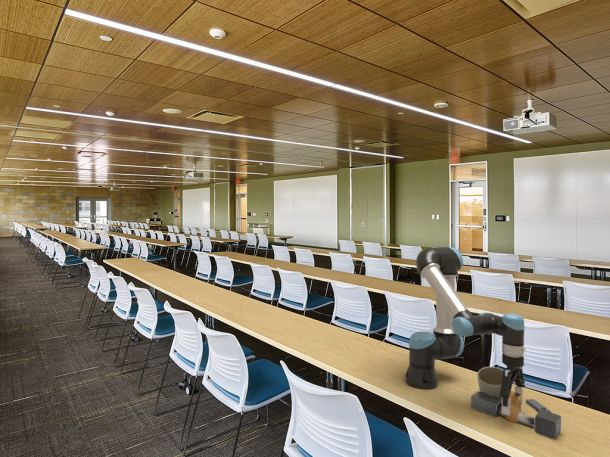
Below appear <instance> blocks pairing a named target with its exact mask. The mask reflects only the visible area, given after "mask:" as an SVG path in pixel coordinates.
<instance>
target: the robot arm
mask: <svg viewBox="0 0 610 457" xmlns="http://www.w3.org/2000/svg"><path fill="white" fill-rule="evenodd" d="M463 258H464V257H463V255H462V253H461V252H460V251H459V249H457V248H455V247H451V246H450V247H449V246H443V247H442V246H441V247H438V246H436V247H426V248H423V249H422V250H420V251H419V252H418V253H417V256H416V260H415V266H416V270H417V272H418V274H419V275H420V277H421V278H422V279H425V280H426V282H427V283H428V284H429V286H430V287H431V289H432V291H433V292H434V293H435V305H436V306H435V310H436V311H435V312H436V313H435V314H436V316H435V317H436V318H435V320H436V322H435V323H436V326H435V327H434V328H432V329H433V332H431V331H422V330H421V331H416V332H413V333H412V334H411V335H410V337H409V343H408V347H409V353H408V355H409V356H408V358H409V359H408V360H409V362H408V367H407V370H406V372H405V374H404V375H405V376H404V378H405V379H404V380H405V381H404V382H405V383H406V384H407V385H409V386H411V387H413V388H417V389H421V390H432V389H435V388H437V387H438V386H439V378H438V375H437V371H436V366H435V365H436V364H435V362H436V361H438V360H445V359H454V358H457V357H459V356H461V355H462V353H463V352H464V348H465V341H464V339H463V337H470V336H476V335H477V336H478V335H488V334H493V335H497V336H500V337H501V338H502V341H501V344H502V345H501V346H502V347H501V352H502V354H501V363H502V364H503V365H505V366H506V369H502V370H503V378H502V384H501V389H500V394H499V396H500V397H502V413H503V414H506V415H509V416H510V398H509V396H510V392H511V391H512V388H513V384H514V383H515V385H514V392H516V393H519V394H521V405H523V396H524V395H523V393H524V391H523V389H524V388H526V384H525V383H526V381H525V376H524V371H523V367H524V365H525V357H524V355H525V352H526V348H525V328H526V327H525V318H524V317H523V316H522V315H520V314H517V313H516V314H514V313H505V314H503V315H502V316H500V315H497V314H495V313H492V312H484V311H483V312H481V313H480V314H478V315H473V314H472V313H471V312H470V310H469V309H468V307H467V306H466V304H465V303H464V301H463V300H462V298H460V295H458V293H457V292H456V291H455V282H456V281H455V280H456V278H457V276H458V275H459V274H458V273H459V271H460V270H461V269H462V267H463V265H464V259H463Z"/></svg>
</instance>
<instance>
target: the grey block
mask: <svg viewBox="0 0 610 457" xmlns="http://www.w3.org/2000/svg"><path fill="white" fill-rule="evenodd" d="M470 398H471V400H470V408H471V409H472V410H475V411H477V412H480V413H483V414H485V415H489V416H491V417H494V418H498V414H497V406H498V405H499V406H502V399H501V398H498V397H495V396H490V395H487V394H485V393H483V392H480V390H477V391H475V392H474V393H473V394H471V396H470Z"/></svg>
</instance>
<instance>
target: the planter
mask: <svg viewBox="0 0 610 457" xmlns="http://www.w3.org/2000/svg"><path fill="white" fill-rule="evenodd" d="M503 370H504V369H502V368H500V367H497V366H496V367H495V366H485V367H482V368H480V369H479V370H478V372H477V383H478V388H479V391H480V392H483V393H485V394H487V395H490V396H495V397H498V398H501V399H502V397H500V396H499V394H500V389H501V384H502V378H503Z"/></svg>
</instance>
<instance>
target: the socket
mask: <svg viewBox="0 0 610 457" xmlns="http://www.w3.org/2000/svg"><path fill="white" fill-rule="evenodd" d="M534 418H535V427H534V432H535V433H538V434H539V435H542V436H546V437H548V438H551V439H553V440H556V439H557V438H558V437H559V435H560V434H561V432H562V415H559V414H556V413H553V412H551V413H550V412H547V411H544V410H540V411H539V412H537V413H536V415H535V417H534Z"/></svg>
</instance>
